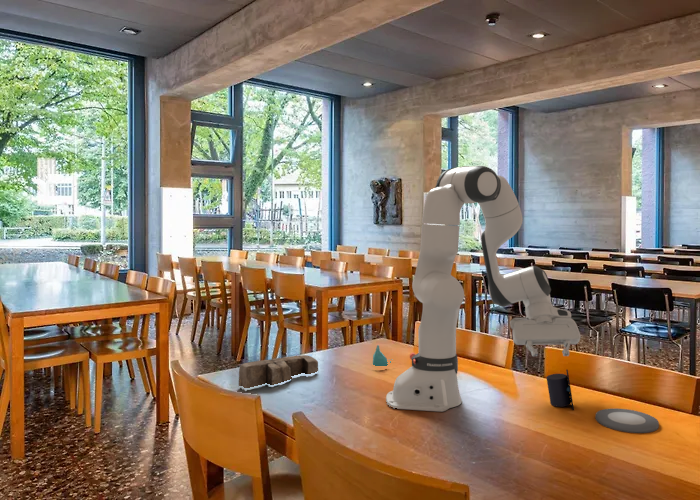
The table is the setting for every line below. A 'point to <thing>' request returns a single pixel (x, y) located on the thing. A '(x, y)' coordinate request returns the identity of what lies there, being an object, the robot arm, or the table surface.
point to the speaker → (559, 390)
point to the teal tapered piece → (379, 358)
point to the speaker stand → (627, 420)
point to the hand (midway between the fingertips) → (550, 355)
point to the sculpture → (275, 370)
